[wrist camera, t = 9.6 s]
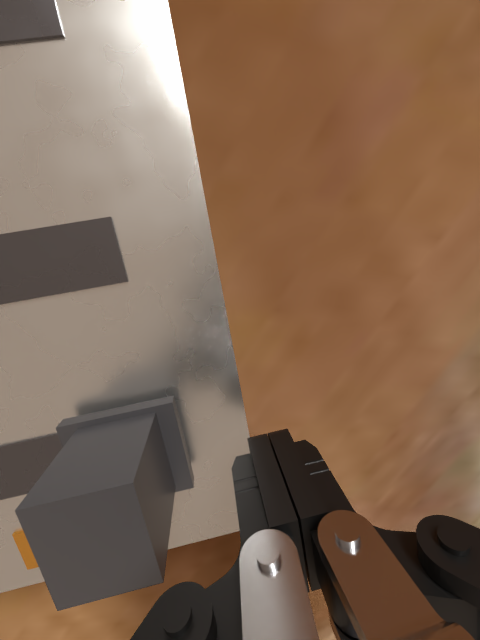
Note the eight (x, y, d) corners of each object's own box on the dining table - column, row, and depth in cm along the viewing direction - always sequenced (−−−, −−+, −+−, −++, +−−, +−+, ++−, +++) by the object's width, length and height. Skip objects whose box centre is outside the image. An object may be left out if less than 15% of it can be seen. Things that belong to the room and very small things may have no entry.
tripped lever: (173, 395, 12) (156, 468, 7) (194, 477, 12) (189, 582, 8) (63, 418, 11) (-18, 509, 7) (92, 501, 12) (35, 624, 8)
